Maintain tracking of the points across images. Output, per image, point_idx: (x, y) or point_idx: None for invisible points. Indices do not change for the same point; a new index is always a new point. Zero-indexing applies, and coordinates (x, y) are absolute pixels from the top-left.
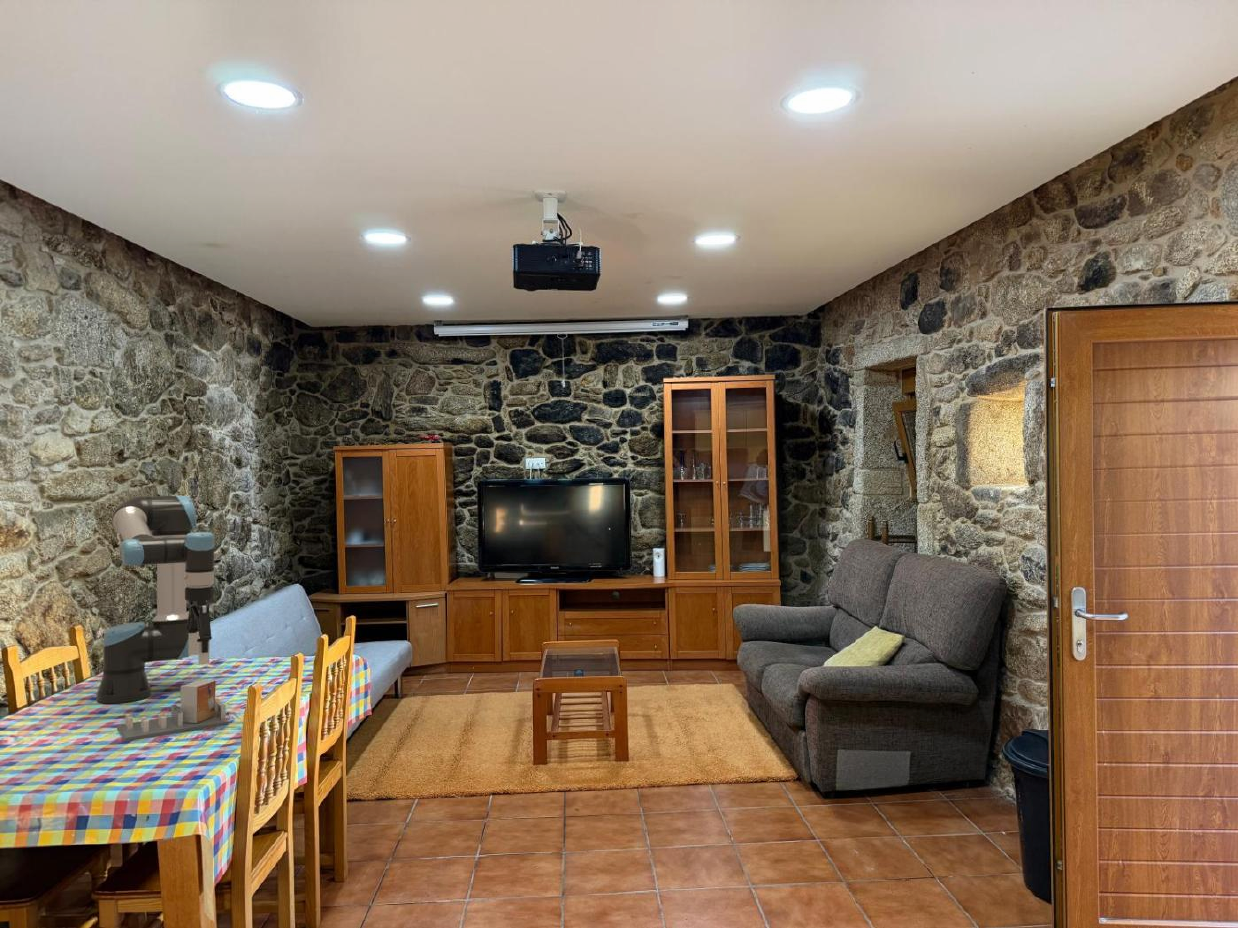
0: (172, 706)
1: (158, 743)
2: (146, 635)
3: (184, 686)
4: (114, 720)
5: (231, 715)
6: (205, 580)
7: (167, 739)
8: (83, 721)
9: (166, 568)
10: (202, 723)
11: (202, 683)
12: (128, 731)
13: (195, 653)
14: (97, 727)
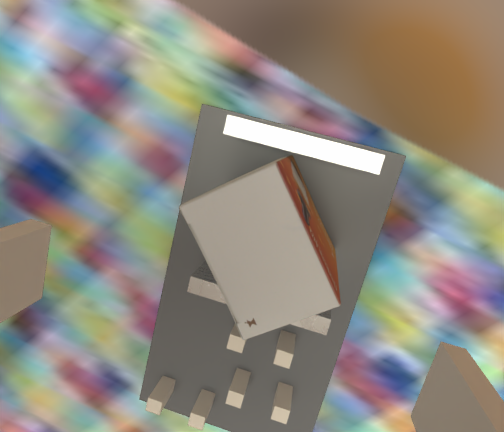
0: (206, 296)
1: (412, 407)
2: None
3: (264, 331)
4: (50, 354)
5: (284, 80)
6: None
7: (392, 371)
8: (3, 404)
9: None
10: (348, 233)
11: (291, 250)
12: (239, 416)
13: (40, 255)
14: (92, 414)
